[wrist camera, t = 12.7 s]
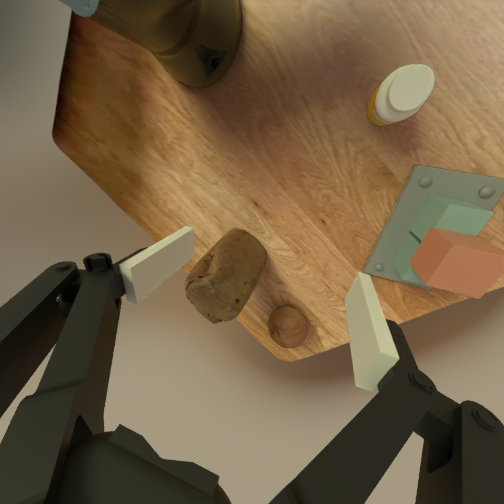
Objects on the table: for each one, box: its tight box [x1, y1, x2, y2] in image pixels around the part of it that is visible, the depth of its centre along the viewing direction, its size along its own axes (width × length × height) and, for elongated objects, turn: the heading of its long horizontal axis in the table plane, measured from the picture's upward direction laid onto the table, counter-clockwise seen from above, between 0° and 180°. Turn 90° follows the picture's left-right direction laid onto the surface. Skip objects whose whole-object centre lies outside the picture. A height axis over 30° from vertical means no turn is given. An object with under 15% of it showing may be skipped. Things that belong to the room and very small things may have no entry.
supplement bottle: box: [367, 64, 435, 126], centre depth 25 cm, size 5×5×10 cm
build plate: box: [363, 165, 504, 290], centre depth 32 cm, size 20×12×7 cm, turn 172°
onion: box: [268, 305, 308, 348], centre depth 49 cm, size 10×9×10 cm
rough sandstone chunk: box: [185, 228, 266, 324], centre depth 39 cm, size 11×8×20 cm
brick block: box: [409, 227, 504, 299], centre depth 27 cm, size 6×6×6 cm
